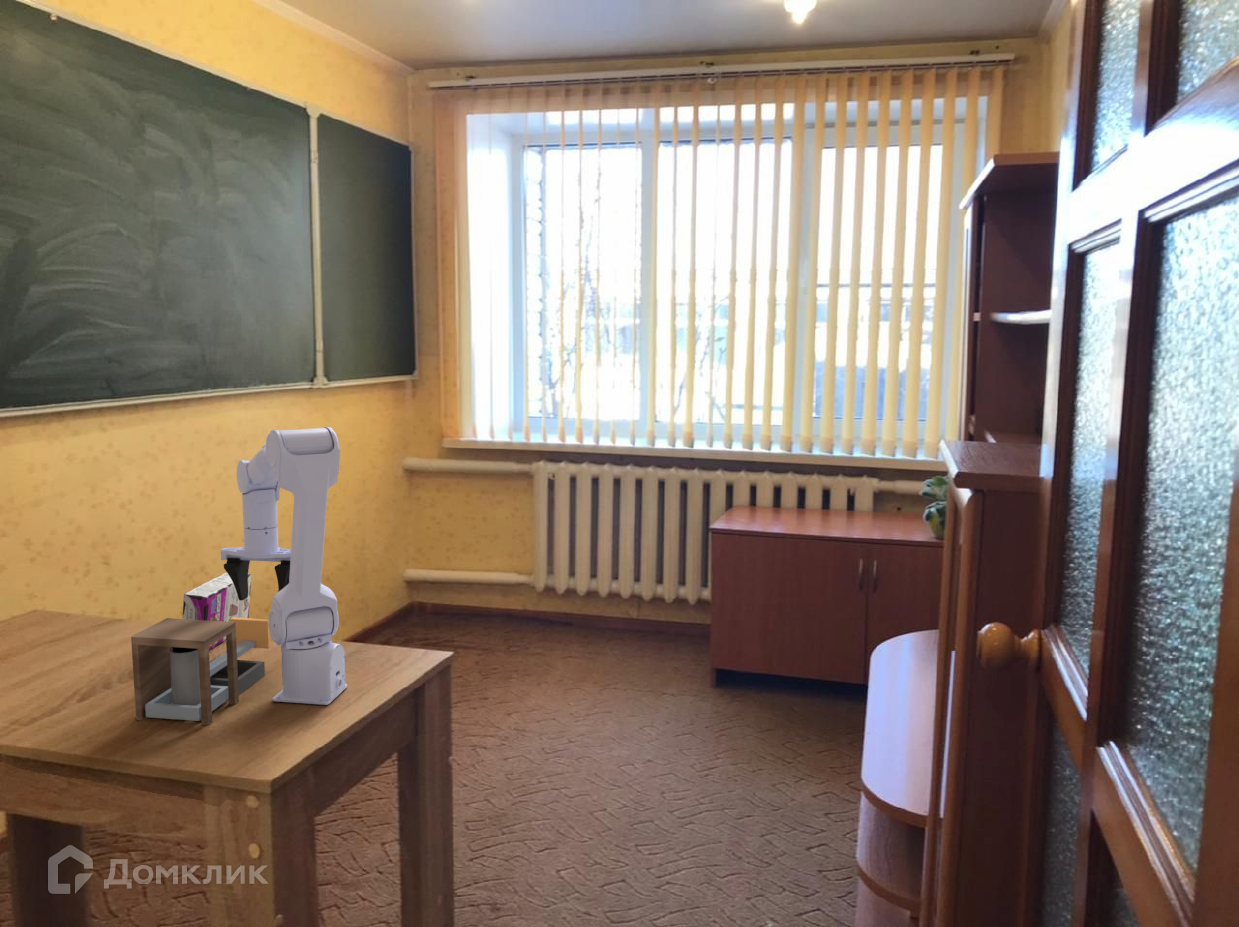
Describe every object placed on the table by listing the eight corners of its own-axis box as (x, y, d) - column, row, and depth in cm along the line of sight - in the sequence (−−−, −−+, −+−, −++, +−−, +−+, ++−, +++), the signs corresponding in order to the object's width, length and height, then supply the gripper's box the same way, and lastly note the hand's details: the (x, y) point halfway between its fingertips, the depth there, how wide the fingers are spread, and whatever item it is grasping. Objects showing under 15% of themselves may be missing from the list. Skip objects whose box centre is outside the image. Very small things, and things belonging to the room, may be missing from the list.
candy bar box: (177, 650, 170) (225, 623, 186) (203, 655, 169) (249, 627, 185) (181, 591, 168) (229, 569, 184) (207, 596, 167) (253, 573, 184)
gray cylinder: (170, 717, 143) (166, 653, 141) (175, 706, 147) (172, 643, 145) (202, 714, 144) (199, 651, 142) (206, 703, 148) (203, 641, 147)
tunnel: (238, 701, 149) (235, 622, 147) (208, 725, 140) (203, 641, 138) (171, 696, 150) (166, 618, 148) (136, 719, 142) (131, 636, 140)
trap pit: (264, 675, 160) (264, 661, 160) (237, 695, 151) (237, 681, 151) (215, 672, 161) (214, 658, 161) (185, 692, 152) (184, 677, 152)
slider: (276, 663, 165) (274, 619, 163) (199, 720, 141) (196, 670, 139) (230, 660, 165) (228, 616, 164) (146, 716, 142) (143, 666, 140)
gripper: (309, 523, 169) (311, 595, 171) (233, 519, 171) (236, 591, 173) (291, 531, 162) (294, 606, 165) (213, 528, 164) (216, 602, 166)
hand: (263, 599), depth 168 cm, fingers open, 7 cm apart
